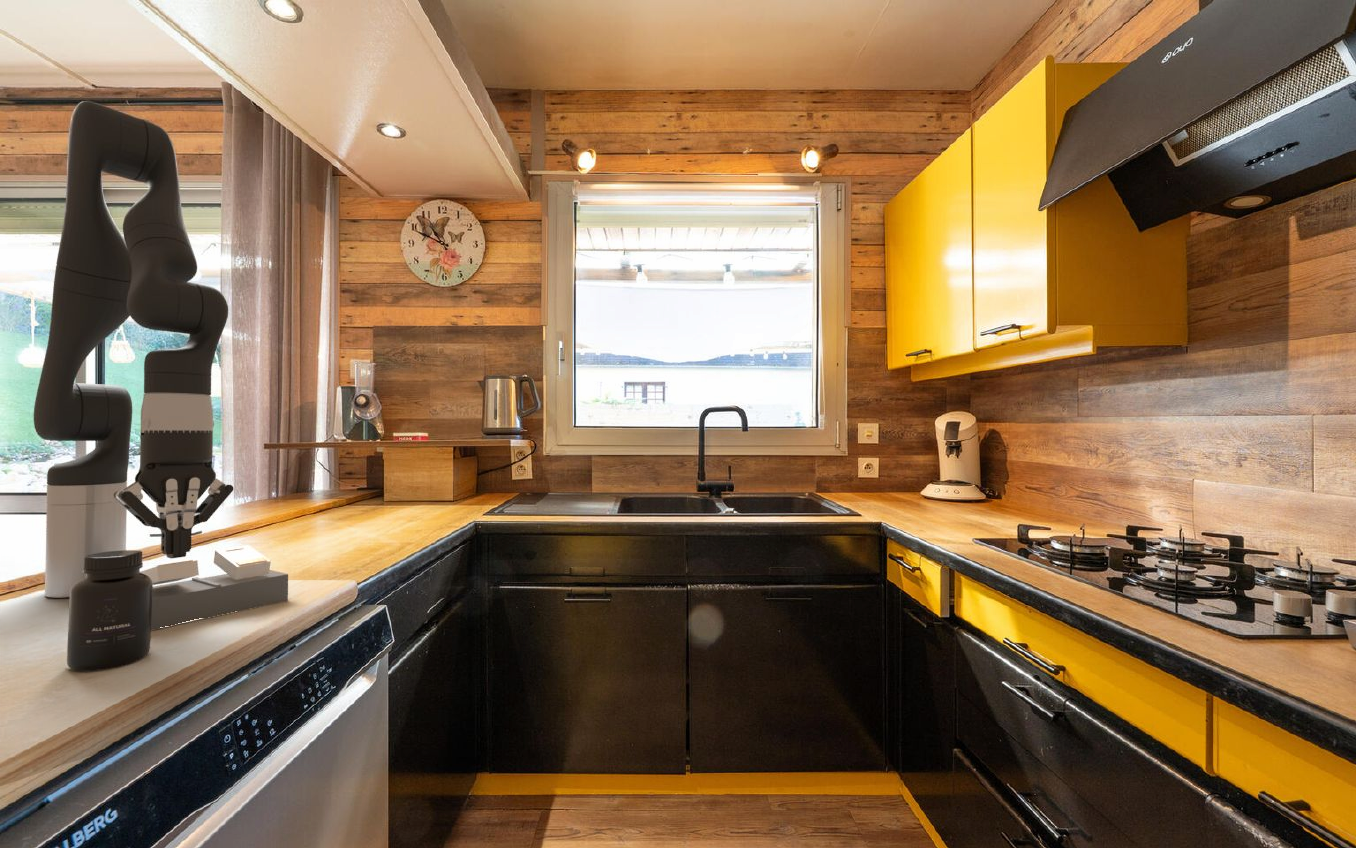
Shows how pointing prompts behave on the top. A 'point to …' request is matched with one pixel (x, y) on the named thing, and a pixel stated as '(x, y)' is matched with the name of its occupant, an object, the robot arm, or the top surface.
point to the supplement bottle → (110, 612)
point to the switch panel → (214, 597)
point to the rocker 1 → (172, 572)
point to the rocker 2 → (242, 562)
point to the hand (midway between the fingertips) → (175, 557)
